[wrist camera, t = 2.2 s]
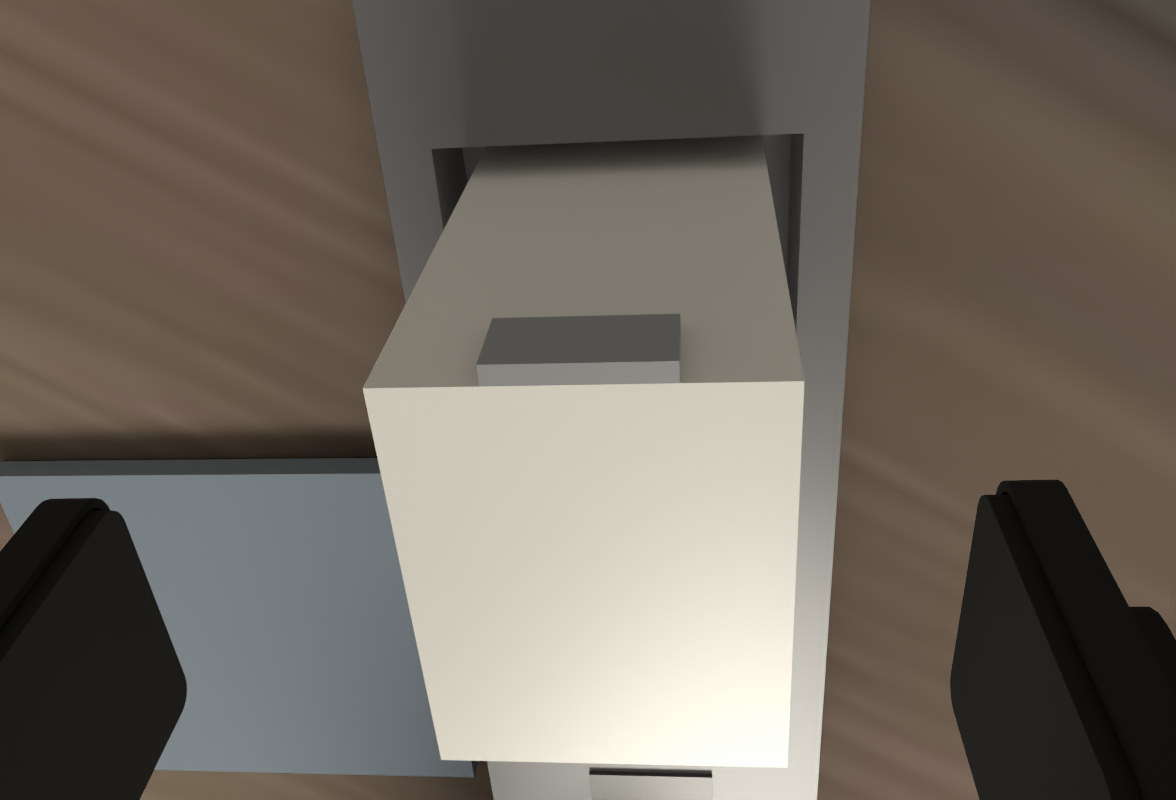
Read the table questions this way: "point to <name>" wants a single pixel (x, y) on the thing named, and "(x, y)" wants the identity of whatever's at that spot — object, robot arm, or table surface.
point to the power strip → (651, 112)
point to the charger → (600, 458)
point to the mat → (269, 608)
